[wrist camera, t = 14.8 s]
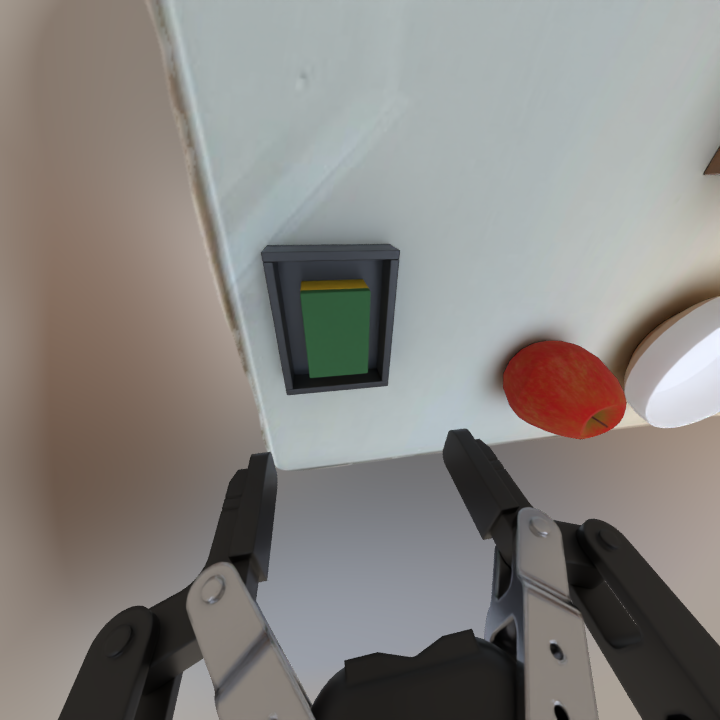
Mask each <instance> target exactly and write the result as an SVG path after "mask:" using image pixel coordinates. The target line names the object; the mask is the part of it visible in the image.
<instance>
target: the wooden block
mask: <svg viewBox="0 0 720 720" xmlns="http://www.w3.org/2000/svg"><path fill="white" fill-rule="evenodd" d="M704 174H706V175H720V148H719V149H718V151H717V153H716V154H715V156H714V158H713V159H712V161H711V163H710V164H709V166H708V168H707V169H706V171H705V173H704Z"/></svg>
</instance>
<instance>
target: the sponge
mask: <svg viewBox="0 0 720 720" xmlns="http://www.w3.org/2000/svg"><path fill="white" fill-rule="evenodd" d="M370 296H371V291H370V290H369V288H368V286H367V285H366V283H365V282H364V280H363V279H355V280H324V281H301V289H300V298H301V307H302V316H303V324H304V333H305V341H306V350H307V359H308V367H309V376H310V378H317V377H328V376H340V375H351V374H363V373H368V354H369V325H370Z"/></svg>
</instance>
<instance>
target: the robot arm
mask: <svg viewBox="0 0 720 720" xmlns="http://www.w3.org/2000/svg"><path fill="white" fill-rule="evenodd" d="M443 460H444V463H445V465H446V467H447V469H448V471H449V473H450V475H451V477H452V479H453V481H454V483H455V485H456V487H457V489H458V491H459V493H460V495H461V497H462V499H463V501H464V503H465V505H466V507H467V509H468V511H469V513H470V515H471V517H472V519H473V521H474V523H475V525H476V527H477V529H478V531H479V533H480V535H481V537H482V539H483V540H485V539H490V538H493V540H494V542H495V544H496V546H495V553H494V568H493V582H492V596H491V603H490V607H489V610H488V613H487V618H486V624H485V634H484V639H481V638H478V637H475V636H474V633H473V630H472V629H469V630H465V631H461V632H457V633H453V634H449V635H445V636H442V637H441V638H439V639H438V640H437V641H435V642H434V643H433V644H431V645H430V646H429V647H427V648H426V649H425V650H423V651H422V652H421V653H419V654H418V655H417V656H415V657H405V656H399V655H392V654H386V653H378V652H377V653H373V654H369V655H365V656H361V657H357V658H353V659H349V660H345V661H344V662H345V667H344V668H343V669H341V670H340V671H339V672H337V673H336V674H335V675H334V676H333V677H332V678H331V679H330V680H329V681H328V683H327V684H326V685H325V686H324V687H323V689H322V690H321V692H320V693H319V695H318V696H317V698H316V699H315V701H314V704H313V705H312V703H311V701H310V699H309V697H308V696H307V694H306V692H305V690H304V688H303V686H302V685H301V683H300V681H299V679H298V677H297V675H296V673H295V672H294V670H293V668H292V666H291V664H290V663H289V661H288V659H287V657H286V655H285V654H284V652H283V650H282V648H281V646H280V645H279V643H278V641H277V639H276V637H275V635H274V633H273V632H272V630H271V628H270V626H269V624H268V622H267V620H266V619H265V617H264V615H263V613H262V611H261V609H260V607H259V606H258V604H257V602H256V597H257V588H258V582H262V581H267V577H268V567H269V558H270V549H271V540H272V531H273V522H274V512H275V503H276V494H277V472H276V468H275V465H274V461H273V457H272V454H271V452H266V453H258V454H252V455H251V457H250V461H249V466H248V469H241V470H238V471H237V472H236V474H235V475H234V476H233V478H232V479H231V481H230V482H229V486H228V489H227V493H226V498H225V500H224V503H223V507H222V512H221V514H220V518H219V522H218V525H217V529H216V532H215V536H214V540H213V543H212V547H211V550H210V554H209V557H208V560H207V562H206V565H205V567H204V568H203V570H202V571H201V573H200V574H199V576H198V577H197V578H196V579H195V580H194V581H193V582H192V583H191V584H190V585H189V586H188V587H186V588H185V589H183V590H182V591H180V592H179V593H177V594H175V595H173V596H171V597H169V598H167V599H166V600H164V601H162V602H160V603H158V604H156V605H155V606H153V607H151V608H149V609H148V608H146V607H144V606H133V607H130V608H128V609H126V610H124V611H122V612H120V613H119V614H117V615H116V616H115V617H114V618H112V619H111V620H110V621H109V622H108V623H107V624H106V625H105V626H104V627H103V629H102V630H101V631H100V632H99V634H98V635H97V636H96V638H95V639H94V641H93V643H92V645H91V646H90V649H89V651H88V653H87V655H86V657H85V659H84V662H83V664H82V666H81V668H80V671H79V673H78V675H77V678H76V680H75V682H74V685H73V687H72V689H71V691H70V693H69V696H68V698H67V700H66V703H65V705H64V707H63V709H62V712H61V714H60V716H59V718H58V720H172V718H173V714H174V710H175V705H176V701H177V696H178V692H179V687H180V683H181V678H182V674H183V671H184V670H186V669H188V668H189V667H191V666H192V665H194V664H195V663H197V662H198V661H200V660H201V659H203V658H204V660H205V663H206V666H207V668H208V671H209V674H210V677H211V679H212V682H213V686H214V690H215V706H216V710H217V714H218V717H219V720H599V718H598V711H597V705H596V699H595V692H594V685H593V678H592V672H591V666H590V659H589V652H588V646H587V639H586V632H585V626H584V623H585V624H586V626H587V628H588V629H589V631H590V633H591V634H592V636H593V638H594V639H595V641H596V643H597V644H598V646H599V647H600V649H601V651H602V653H603V654H604V656H605V658H606V659H607V661H608V663H609V664H610V666H611V668H612V669H613V671H614V673H615V674H616V676H617V678H618V679H619V681H620V683H621V685H622V686H623V688H624V690H625V691H626V693H627V695H628V696H629V698H630V700H631V701H632V703H633V705H634V706H635V708H636V709H637V711H638V713H639V714H640V716H641V718H642V720H720V646H719V645H718V644H717V643H716V641H715V640H714V639H713V638H712V637H711V636H710V634H709V633H708V632H707V631H706V630H705V629H704V628H703V626H701V624H700V623H699V622H698V621H697V619H696V618H695V617H694V616H693V615H692V614H691V612H690V611H689V610H688V609H687V608H686V607H685V606H684V605H683V603H682V602H681V601H680V600H679V599H678V597H676V595H675V594H674V593H673V592H672V591H671V590H670V588H669V587H668V586H667V585H666V584H665V582H664V581H663V580H662V579H661V578H660V577H659V576H658V574H657V573H656V572H655V571H654V570H653V569H652V567H651V566H650V565H649V564H648V563H647V562H646V561H645V559H644V558H643V557H642V556H641V555H640V554H639V552H638V551H637V550H636V549H635V548H634V547H633V546H632V544H631V543H630V542H629V541H628V540H627V539H626V538H625V536H624V535H623V534H622V533H620V532H619V531H618V530H617V529H616V528H614V527H613V526H611V525H610V524H608V523H606V522H604V521H601V520H597V519H588V520H587V521H586V522H585V523H583V524H582V525H577V524H571V523H566V522H560V521H556V520H553V519H552V518H550V517H549V516H548V515H547V514H546V513H544V512H542V511H541V510H539V509H536V508H534V507H533V506H531V504H530V503H529V502H528V500H527V499H526V498H525V496H524V495H523V493H522V492H521V491H520V489H519V488H518V486H517V485H516V484H515V482H514V481H513V479H512V478H511V476H510V475H509V474H508V472H507V471H506V469H504V467H503V465H502V464H501V462H500V461H499V460H498V459H497V457H496V455H495V454H494V453H493V451H492V450H491V449H490V447H489V446H487V445H486V444H485V443H484V442H482V441H481V440H480V439H476V440H475V439H474V437H473V436H472V434H471V433H470V432H469V430H467V429H458V430H450V431H449V432H448V435H447V439H446V442H445V445H444V449H443ZM605 581H606V582H607V583H606V582H605ZM608 585H609V586H608ZM610 588H611V589H612V590H611V589H610ZM613 592H614V593H613ZM615 595H616V596H617V597H616V596H615ZM618 599H619V600H618ZM571 601H572V602H571ZM620 602H621V603H622V604H621V603H620ZM623 606H624V607H623ZM625 609H626V610H627V611H626V610H625ZM628 613H629V614H628ZM630 616H631V617H632V618H631V617H630ZM633 620H634V621H633ZM635 623H636V624H635Z"/></svg>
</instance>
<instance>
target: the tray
mask: <svg viewBox="0 0 720 720" xmlns="http://www.w3.org/2000/svg"><path fill="white" fill-rule="evenodd" d="M261 255H262V261H263V266H264V272H265V277H266V283H267V288H268V294H269V299H270V305H271V310H272V316H273V321H274V327H275V332H276V338H277V343H278V349H279V354H280V360H281V365H282V371H283V376H284V382H285V387H286V393H287V395H295V394H306V393H317V392H327V391H338V390H349V389H359V388H370V387H381V386H388V377H389V366H390V355H391V344H392V333H393V322H394V311H395V300H396V289H397V278H398V267H399V255H400V250H398V249H397V248H395V247H393V246H392V245H390V244H353V245H267V246H266V248H265V249H264V250H263V251H262V252H261ZM355 279H363V280H364V282H365V283H366V285H367V286H368V288H369V290H370V291H371V296H370V325H369V354H368V373H363V374H351V375H340V376H328V377H317V378H310V376H309V367H308V359H307V350H306V341H305V333H304V324H303V316H302V307H301V298H300V289H301V281H324V280H355Z"/></svg>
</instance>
